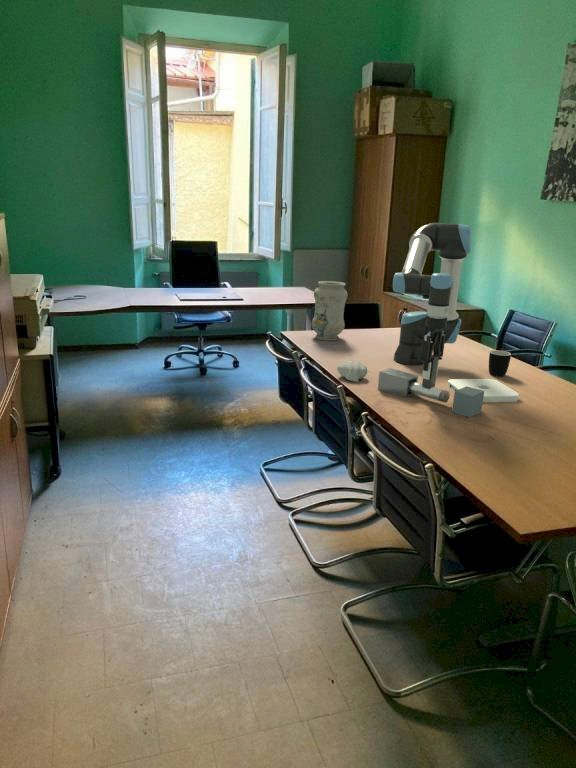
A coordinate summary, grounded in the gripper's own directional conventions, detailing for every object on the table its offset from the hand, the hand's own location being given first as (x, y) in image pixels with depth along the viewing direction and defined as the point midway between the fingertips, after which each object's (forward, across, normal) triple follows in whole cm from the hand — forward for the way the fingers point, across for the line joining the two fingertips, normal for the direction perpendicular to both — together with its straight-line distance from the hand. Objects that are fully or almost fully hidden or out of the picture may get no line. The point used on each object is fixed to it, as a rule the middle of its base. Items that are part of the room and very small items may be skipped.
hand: (429, 377), depth 217 cm
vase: (+9, +48, +89) cm, 102 cm away
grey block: (+9, 0, -16) cm, 19 cm away
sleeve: (+9, 0, +14) cm, 16 cm away
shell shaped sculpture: (+10, 0, +36) cm, 38 cm away
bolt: (+8, 0, +5) cm, 9 cm away
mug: (+9, +57, -2) cm, 58 cm away
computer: (+10, +26, -10) cm, 29 cm away
